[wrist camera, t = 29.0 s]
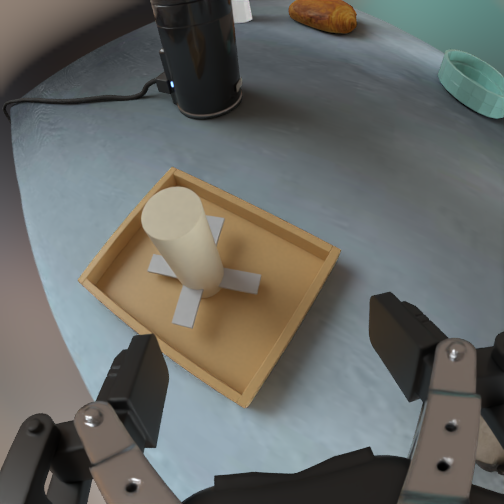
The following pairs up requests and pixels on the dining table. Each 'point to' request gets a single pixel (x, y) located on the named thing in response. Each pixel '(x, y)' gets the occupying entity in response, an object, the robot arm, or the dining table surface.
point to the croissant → (324, 15)
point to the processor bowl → (473, 83)
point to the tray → (225, 301)
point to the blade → (190, 250)
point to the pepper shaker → (241, 11)
